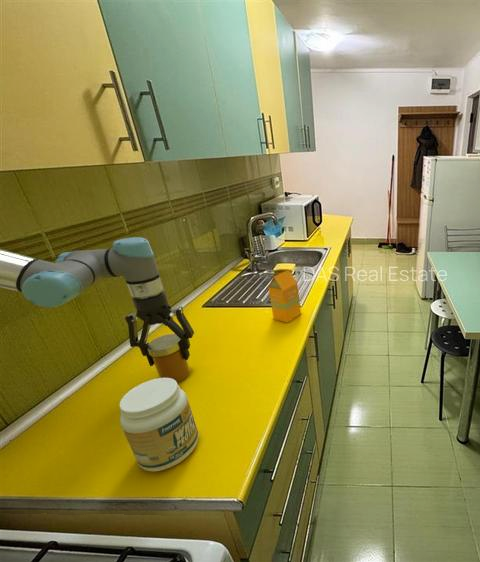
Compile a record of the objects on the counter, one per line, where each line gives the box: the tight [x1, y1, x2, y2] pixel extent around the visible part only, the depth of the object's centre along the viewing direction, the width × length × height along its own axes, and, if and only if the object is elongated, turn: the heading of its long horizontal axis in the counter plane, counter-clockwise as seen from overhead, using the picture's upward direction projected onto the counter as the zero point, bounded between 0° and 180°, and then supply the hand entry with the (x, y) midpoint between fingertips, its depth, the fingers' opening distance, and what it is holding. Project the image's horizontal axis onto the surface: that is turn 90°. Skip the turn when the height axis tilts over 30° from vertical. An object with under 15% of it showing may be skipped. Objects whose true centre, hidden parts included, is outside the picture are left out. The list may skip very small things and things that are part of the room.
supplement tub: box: [119, 377, 199, 472], centre depth 68 cm, size 12×12×17 cm
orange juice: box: [268, 268, 302, 324], centre depth 126 cm, size 8×9×20 cm
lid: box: [147, 333, 181, 357], centre depth 91 cm, size 9×9×2 cm
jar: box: [152, 348, 191, 384], centre depth 93 cm, size 8×8×12 cm
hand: (170, 360), depth 93 cm, fingers closed on lid, 9 cm apart
